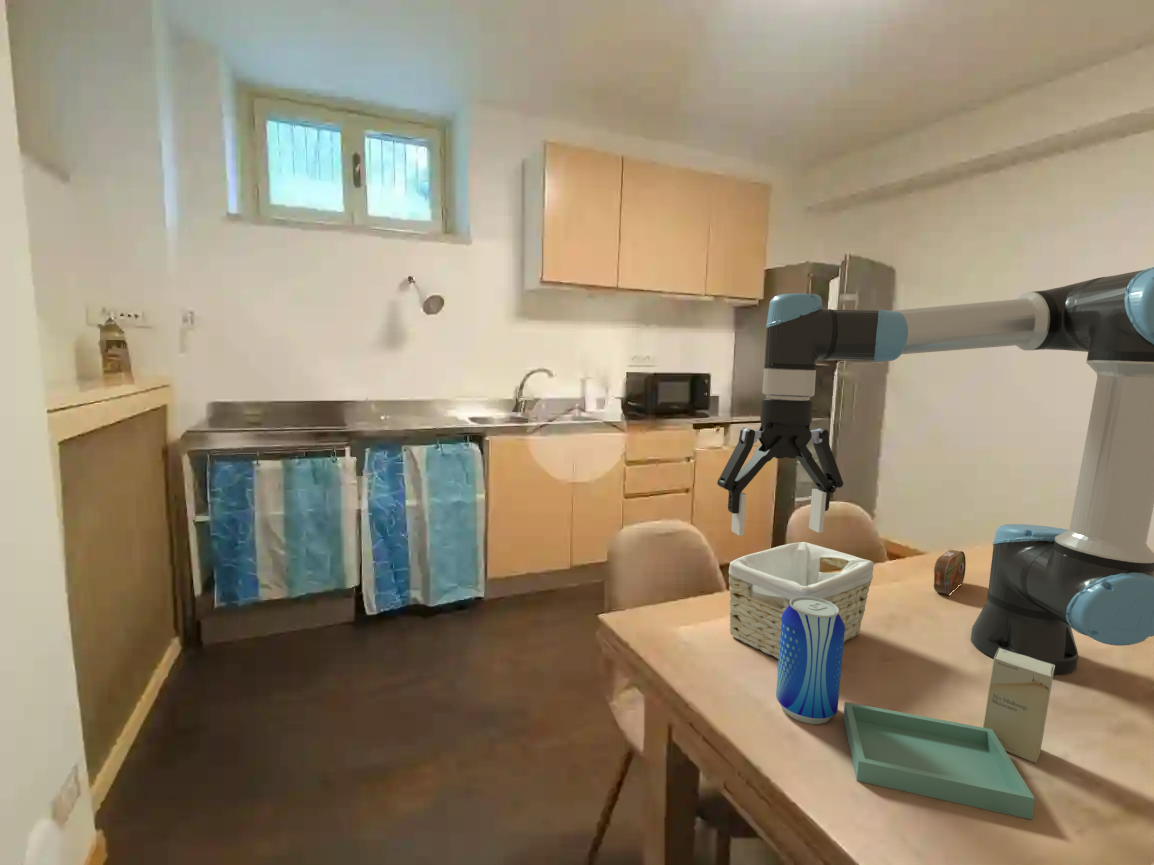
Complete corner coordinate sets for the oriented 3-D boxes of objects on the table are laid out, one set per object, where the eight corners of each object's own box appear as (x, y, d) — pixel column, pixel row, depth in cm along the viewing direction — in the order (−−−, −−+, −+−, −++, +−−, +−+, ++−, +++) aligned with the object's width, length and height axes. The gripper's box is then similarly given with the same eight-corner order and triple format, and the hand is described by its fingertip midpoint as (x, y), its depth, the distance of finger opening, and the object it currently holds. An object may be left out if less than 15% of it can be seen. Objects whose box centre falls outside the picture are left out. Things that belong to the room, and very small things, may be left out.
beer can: (843, 731, 80) (853, 621, 78) (779, 722, 82) (787, 614, 80) (829, 697, 88) (838, 597, 86) (772, 689, 90) (779, 591, 88)
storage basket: (794, 605, 121) (799, 537, 119) (872, 636, 109) (879, 560, 107) (719, 636, 107) (724, 559, 105) (799, 676, 94) (806, 589, 92)
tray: (989, 747, 78) (992, 729, 77) (1031, 819, 65) (1034, 798, 65) (843, 718, 83) (844, 701, 83) (856, 780, 71) (858, 761, 70)
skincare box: (980, 741, 79) (991, 657, 77) (986, 727, 82) (997, 646, 80) (1039, 765, 74) (1051, 676, 73) (1043, 749, 78) (1055, 663, 76)
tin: (944, 600, 126) (949, 562, 125) (928, 595, 129) (932, 558, 127) (965, 583, 136) (969, 548, 135) (950, 579, 139) (953, 545, 137)
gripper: (843, 397, 95) (832, 522, 98) (701, 394, 90) (693, 527, 93) (875, 400, 88) (862, 536, 91) (722, 398, 83) (713, 542, 86)
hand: (777, 532), depth 92 cm, fingers open, 13 cm apart
